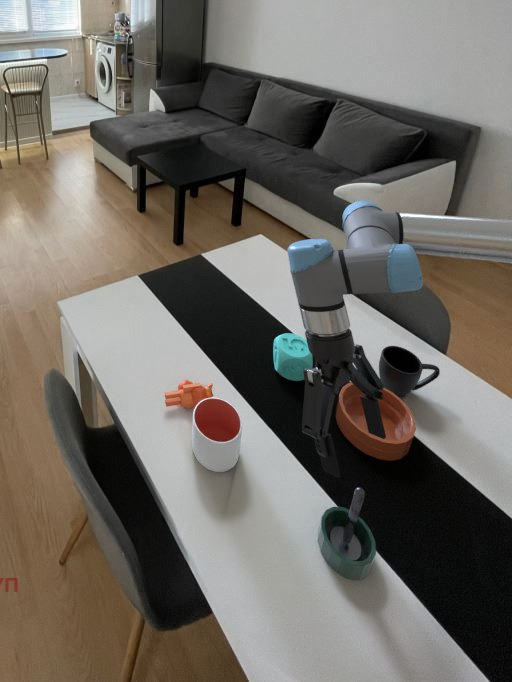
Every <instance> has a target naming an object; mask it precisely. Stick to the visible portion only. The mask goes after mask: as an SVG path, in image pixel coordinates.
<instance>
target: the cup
mask: <svg viewBox="0 0 512 682" xmlns="http://www.w3.org/2000/svg"><path fill="white" fill-rule="evenodd" d="M191 429H192V430H191V433H192V434H191V448H192V451H193V455H194V457H195V458H196V459H197V462H199V464H200V465H201V466H203V467H204V468H206V469H207V470H209V471H212V472H216V473H225V472H227V471H231V469H232V468H234V467H235V466H236V464H237V462H238V460H239V459H240V458H239V457H240V451H241V450H240V449H241V443H242V441H241V440H242V431H243V422H242V418H241V415H240V412H239V411H238V409H236V407H235V406H234V405H233V404H232V403H230V402H228V401H227V400H225V399H224V398H223V399H222V398H219V397H212V398H207V399H204V400H202V401H200V402H199V403H198V404H197V405H196V407H194V408H193V412H192V428H191Z"/></svg>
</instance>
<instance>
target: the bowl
mask: <svg viewBox="0 0 512 682" xmlns="http://www.w3.org/2000/svg"><path fill="white" fill-rule="evenodd" d="M379 392H382V393H383V399H382V400H381V399H378V402H379V406H380V410H381V417H382V422H383V426H384V430H385V434H386V438H385V439H382V438H380V437H378V436H375V435H373V434H370V433H369V432H368V427H367V423H366V419H365V415H364V410H363V406H362V402H361V397H360V396H362V395H365V394H364V393H362V392H361V391H360V390H359V389H358V388H357V387H356V386H355V385H354V384H353V383H352V382H351V381H349V382H347V383H345V384H344V385H343V386H342V387H341V389H340V390H339V393H338V398H337V402H336V407H335V420H336V423H337V426H338V428H339V430H340V431H341V433H342V434H343V437H345V438H346V439H347V441H349V442H350V443H351V444H352V445H353V446H354V448H356V449H357V450H359V451H361V452H362V453H364V454H365V455H367V456H370V457H372V458H375V459H377V460H380V461H381V460H382V461H390V462H391V461H392V462H393V461H398V460H401V459H403V458H404V457H405V456H406V455H408V454H409V451H410V448H411V446H412V443H413V440H414V437H415V434H416V431H417V425H416V419H415V417H414V414H413V413H412V411H411V409H410V408H409V407H408V405H407V404H406V403H405V402H404V401H403V399H402V398H399V397H398V396H396V395H395V394H394V393H393V392H391V391H389V390H388V389H386V388H383V390H379ZM365 396H366V395H365Z"/></svg>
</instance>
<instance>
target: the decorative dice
mask: <svg viewBox="0 0 512 682" xmlns="http://www.w3.org/2000/svg"><path fill="white" fill-rule="evenodd" d="M272 346H273V347H272V350H273V351H272V355H273V357H272V358H273V364H274V365H273V366H274V370H275V371H276V372H277V374H279V375H280V376H281V377H283V378H285V379H286V380H289V381H294V382H299V381H300V382H301V381H305V379H304V369H305V368H308V369H314V368H313V365H314V363H313V360H314V359H313V355H312V354H311V353H310V351H309V349H308V344H307V340H306V338H304V337H302V336H300V335H298V334H296V333H292V332H291V333H290V332H287V333H282V334H280V335H278V336H276V337H275V338H274V340H273V345H272Z"/></svg>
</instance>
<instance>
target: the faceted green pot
mask: <svg viewBox="0 0 512 682" xmlns="http://www.w3.org/2000/svg"><path fill="white" fill-rule="evenodd" d="M349 510H350V509H348V508H346V507H343V506H331V507H329V508H327V509H325V511H324V512H323V514H322V516H321V519H320V521H319V522H320V523H319V526H318V529H317V530H318V531H317V544H318V547H319V551H320V553H321V556H322V557H323V559H324V560H325V562H326V563H327V564H328V566H329V567H330V568H331V569H332V570H333V571H334V572H335V573H337V574H338V575H340V576H342V577H343V578H345V579H348V580H352V581H360V580H363V579H364V578H366V577H368V575H369V574H370V571H371V569H372V567H373V564H374V561H375V557H376V555H377V544H376V543H377V542H376V540H375V538H374V535H373V533H372V530H371V528H370V527H369V526H368V524H367V523H366V522H365V521H364V519H363V518H361V517H360V516H359V517H358V520H357V524H356V527H355V531H354V534H355V535H356V537H357V538H358V540H359V542H360V544H361V548H362V554H361V557H360V560H359V561H352V560H350V559H348V558H346V557H344V556H342V555H341V554H340V553H339V552H338V551H337V550H336V549H335V548H334V547H333V545H332V544H331V542H330V541H329V535H330V531H331V529H332V528H333V527H335V526H344V527H345V524H346V521H347V517H348V514H349Z"/></svg>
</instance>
